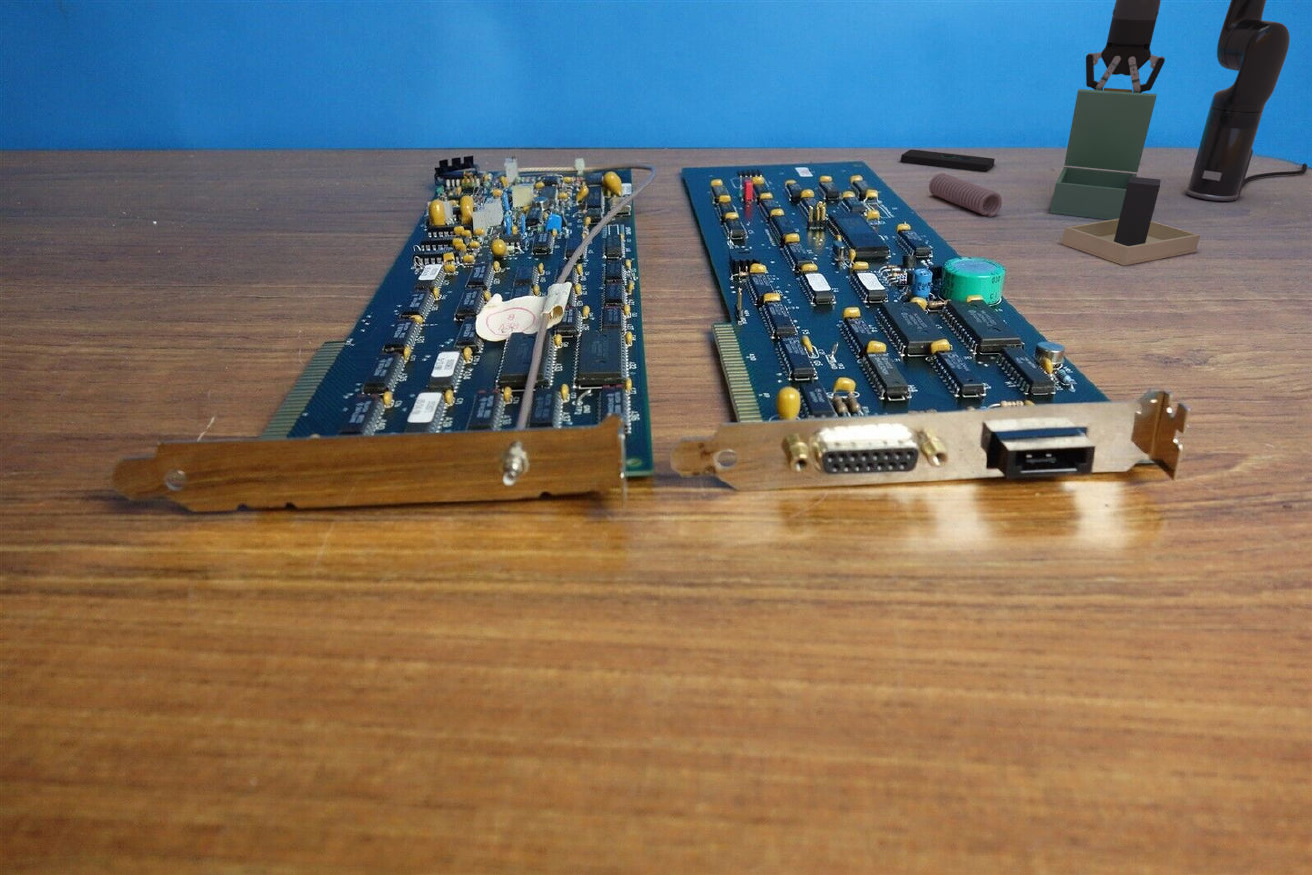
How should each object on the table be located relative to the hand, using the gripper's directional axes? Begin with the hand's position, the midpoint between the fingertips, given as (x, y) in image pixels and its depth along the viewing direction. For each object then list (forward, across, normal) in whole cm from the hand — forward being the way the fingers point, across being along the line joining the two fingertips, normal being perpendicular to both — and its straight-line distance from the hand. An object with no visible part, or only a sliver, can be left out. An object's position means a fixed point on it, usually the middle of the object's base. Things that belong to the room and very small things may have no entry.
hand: (1112, 112), depth 180 cm
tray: (+17, -8, +31) cm, 36 cm away
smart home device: (+18, +33, -22) cm, 44 cm away
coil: (+18, +23, +15) cm, 33 cm away
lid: (+4, 0, +1) cm, 4 cm away
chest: (+17, 0, +5) cm, 18 cm away
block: (+17, -8, +31) cm, 36 cm away
